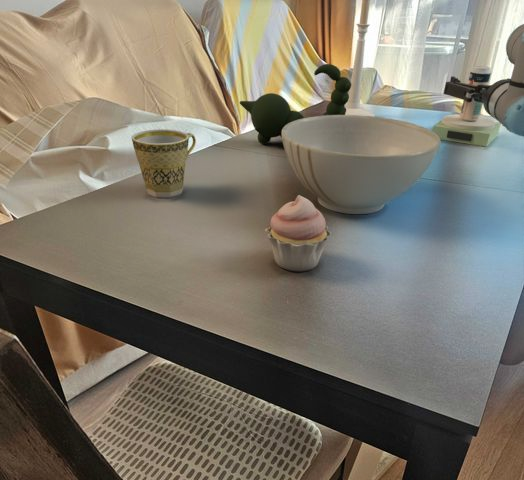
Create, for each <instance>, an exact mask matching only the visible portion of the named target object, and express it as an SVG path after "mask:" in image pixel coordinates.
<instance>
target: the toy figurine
mask: <svg viewBox="0 0 524 480" xmlns="http://www.w3.org/2000/svg"><path fill="white" fill-rule="evenodd" d="M313 74H314V76H318V75H319V74H325V75H326V76H328V77H329V78H330V80H332V81H334V82H335V83H334V89H333V90H332V92H331V94H330V101H329V102H328V103H327V105H326V108H325V112H324V113H323V114H322V115H321V116H326V115H345V113H346V108H345V106H346V105H347V102H348V99H349V91H350V88H351V85H352V84H351V80H350V79H349V78H348V77H346V76H341V75H342V73H341V70H340V69H339V67H338V66H336V65H334V64H332V63H324V64H322V65H320V66H318V68H316V69H315V71H314V73H313ZM239 105H240V106H242V108H243V109H245V110H246V111H247V112H248V113H249V114H250V119H251V123H252V126H253V128H254V130H255V131H256V132H257V133H258V134H257V141H258V142H259V143H260V144H262V145H267V144H268V143H270V142H271V140H272V138H276V137H280V138H282V129H283V127H284V126H285V125H287V124H288V123H290V122H293V121H296V120H299V119H303V118H308V117H309V116H308V117H305V116H304V115H303V114H302V113H301V112H299V111H297V110H292V109H291V106H290V104H289V102H288V101H287V99H286V98H284V97H283V96H281V95H280V94H277V93H275V92H269V93H265V94H263V95H261V96H259V97H258V98H257V99H255V100H240V101H239ZM282 143H283V141H282Z"/></svg>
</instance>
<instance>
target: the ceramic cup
mask: <svg viewBox="0 0 524 480" xmlns="http://www.w3.org/2000/svg"><path fill="white" fill-rule="evenodd" d="M190 138H192V143H191V146H190V147H189V139H190ZM196 140H197V139H196V137H195V135H194V134H193V133H191V132H184V131H182V130H177V129H167V128H157V129H156V128H155V129H147V130H146V129H145V130H142V131H138V132H136V133H134V134H133V135H132V136H131V141H132V146H133V149H134V153H135V156H136V159H137V162H138V164H139V169H140V172H141V175H142V178H143V181H144V186H145V190H146V193H147V194H148V195H149V196H152V197H153V198H162V199H164V198H166V199H167V198H169V199H170V198H174V197H177V196H180V195H182V193H183V191H184V180H185V168H186V161H187V159H188V157H189V155H190V154H191V153H192V151H193V150H194V148H195V147H196V143H197V141H196Z"/></svg>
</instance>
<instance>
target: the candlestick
mask: <svg viewBox="0 0 524 480" xmlns="http://www.w3.org/2000/svg"><path fill="white" fill-rule="evenodd" d="M370 3H371V0H361V8H360V15H359V23H356V26H357V34H358V38H357V40H356V41H357V43H356V48H355V53H354V61H353V67H352V72H351V73H352V74H351V80H350V82H351V84H352V85H351V88H350V90H349V91H348V94H349V99H348V102H347V103H346V104H345V105H344V106H345V108H346V113H345V115H361V116H373V117H375V114H374V113H373V112H372V111H371V110H369V109H367V108H365V107H362V106H361V93H362V82H363V70H364V69H363V68H364V57H365V46H366V45H365V43H366V39H365V37H366V34H367V33H368V29H369V26H371V24H370V23H368V20H369V11H370Z"/></svg>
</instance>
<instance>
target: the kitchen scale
mask: <svg viewBox="0 0 524 480" xmlns="http://www.w3.org/2000/svg"><path fill="white" fill-rule="evenodd" d="M501 126H502V124H501V123H500V122H499V121H495V120H493V119H491V118H488V117H485V116H482V115H480V117H479V120H476V121H474V122H468V121H463V120H462V119H461V118H460V113H456V114H448V115H444V116H443V117H442V119H440V120H439V121H438V122H437V123H434V125H433V126H432V129H431V131H433V132H434V133H435V134H437V135H438V136H439V138H440V140H443V141H447V142H453V143H460V144H466V145H471V146H472V145H473V146H480V147H485V148H487V147H488V146H489V144H491V143H492V141H493V140H494V139H496V137H497V136H498V135H499V132H500V128H501Z"/></svg>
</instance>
